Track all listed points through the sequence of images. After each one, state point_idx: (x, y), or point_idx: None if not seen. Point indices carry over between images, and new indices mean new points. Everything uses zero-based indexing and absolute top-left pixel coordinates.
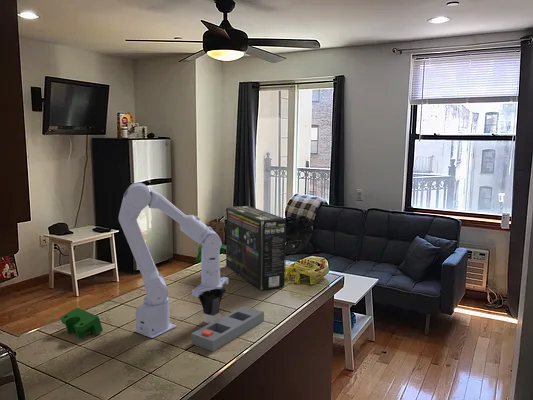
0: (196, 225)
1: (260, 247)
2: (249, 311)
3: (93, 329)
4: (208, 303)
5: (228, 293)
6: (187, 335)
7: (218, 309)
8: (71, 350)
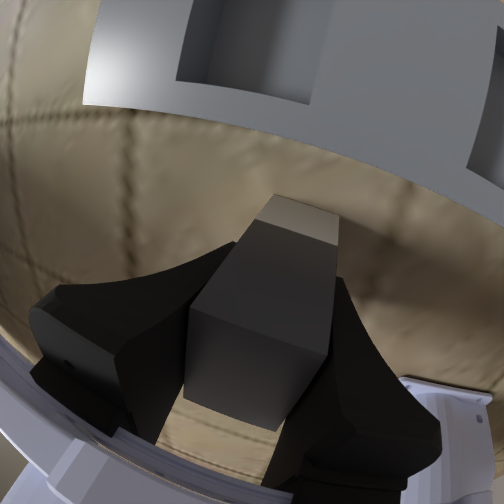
0: None
1: None
2: (140, 8)
3: None
4: (383, 363)
5: (34, 272)
6: (483, 302)
7: (256, 236)
8: (498, 460)
